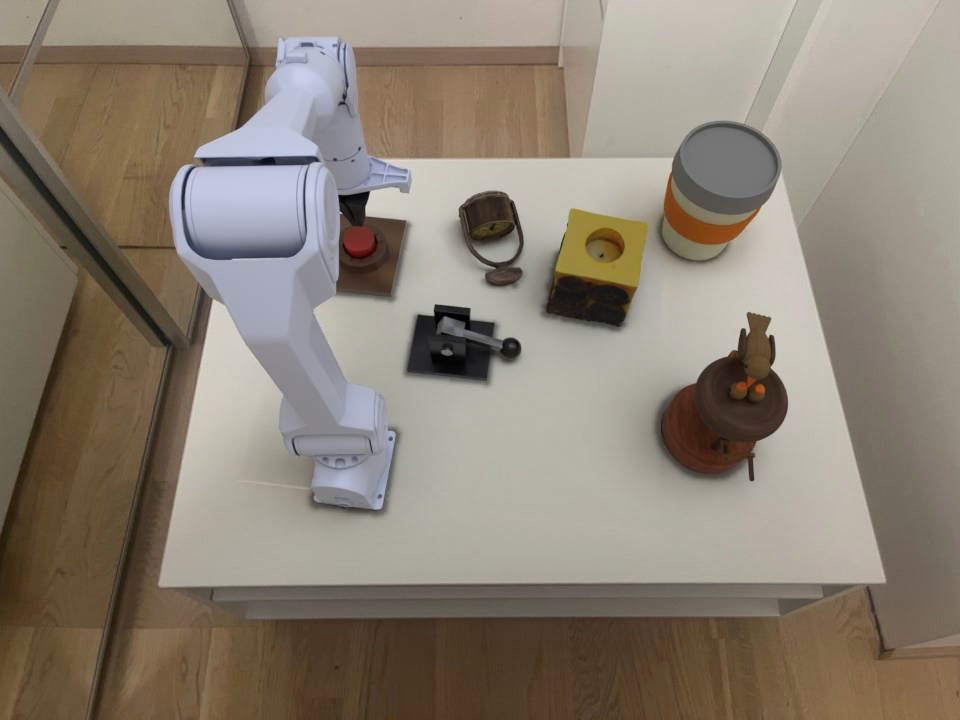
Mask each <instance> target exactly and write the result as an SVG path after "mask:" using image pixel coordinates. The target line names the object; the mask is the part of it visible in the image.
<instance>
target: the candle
mask: <svg viewBox="0 0 960 720" xmlns="http://www.w3.org/2000/svg"><path fill="white" fill-rule="evenodd" d="M567 219H568V221H567V223H566V229H565V232H564V233H563V236H562V239H561V242H560V247H559V251H558V255H557V261H556V264H555V265H556V266H555V268H554V269H555V270H554V273H553V278H552V283H551V286H550V290H549V294H548V298H547V299H548V301H547V303H546V307H545V312H546V313H547V314H555V315H557V316H562V317H564V318H569V319H576V320H579V321H587V322H597V323H605V324H606V325H607V324H608V325H610V326H614V327H621V326H622V325H623V323H624V322H625V319H626V316H627V315H628V311H629V309H630V307H631V304H632V299H633V298H634V297H635V293H637V290H638V288H639V282H640V276H641V272H642V261H643V254H644V250H645V245H646V241H647V236H648V231H649V224H648V222H646V221H641V220H635V219H628V218H621V217H616V216H610V215H605V214H599V213H595V212H590V211H587V210H582V209H578V208H574V207H572V208H570V210H569V211H568V216H567Z"/></svg>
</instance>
